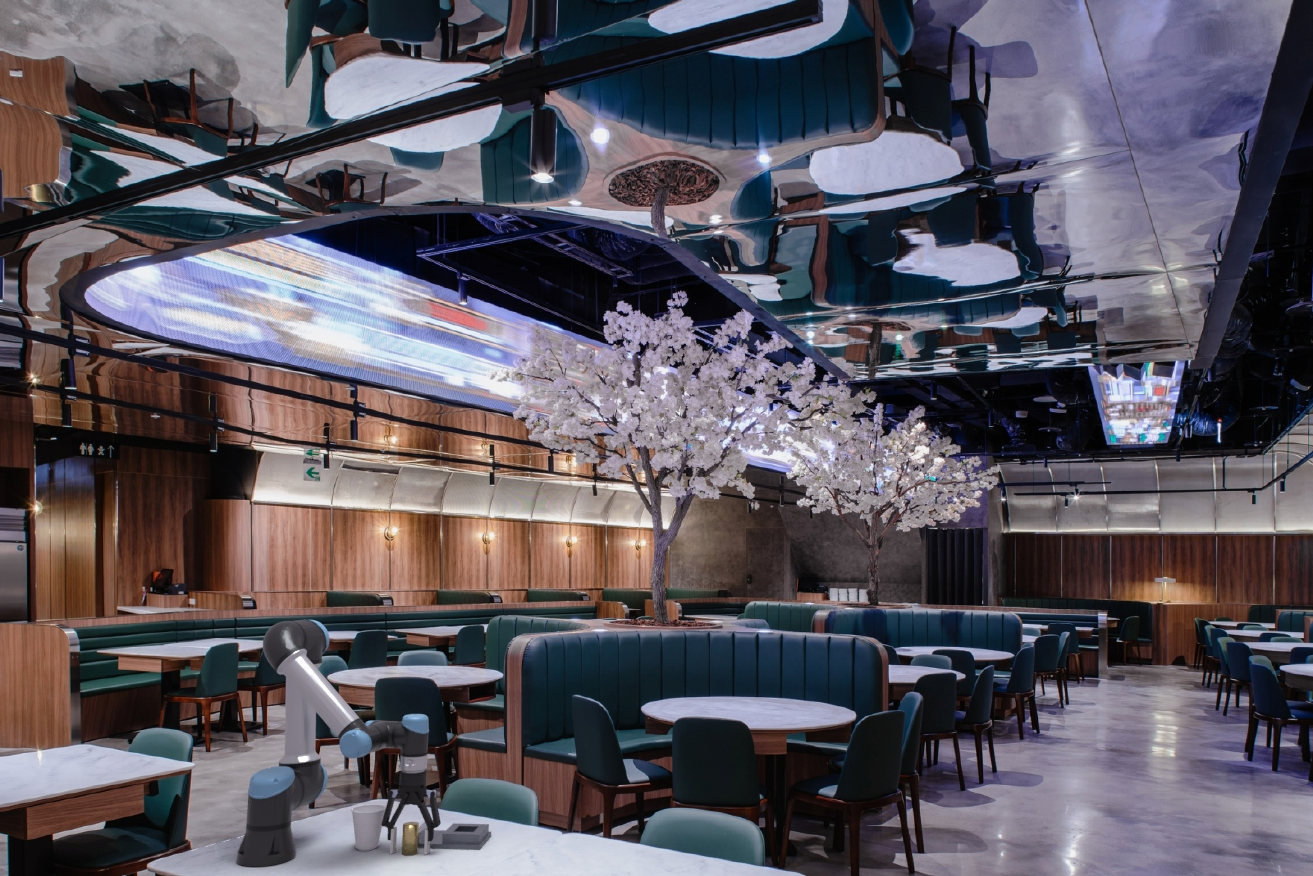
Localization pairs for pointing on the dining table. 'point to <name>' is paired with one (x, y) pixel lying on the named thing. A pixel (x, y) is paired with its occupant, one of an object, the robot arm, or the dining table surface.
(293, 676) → the robot arm
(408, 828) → the cylinder
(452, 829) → the jig
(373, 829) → the cup
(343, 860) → the dining table surface
